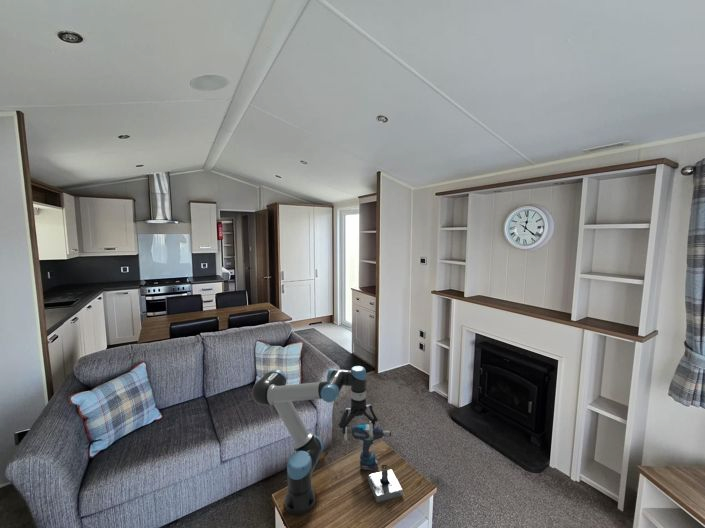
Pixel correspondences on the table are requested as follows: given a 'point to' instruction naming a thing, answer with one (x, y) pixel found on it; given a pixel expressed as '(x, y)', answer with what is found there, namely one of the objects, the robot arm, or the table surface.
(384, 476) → the flashlight
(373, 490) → the socket block
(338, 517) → the table surface
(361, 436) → the impact wrench
